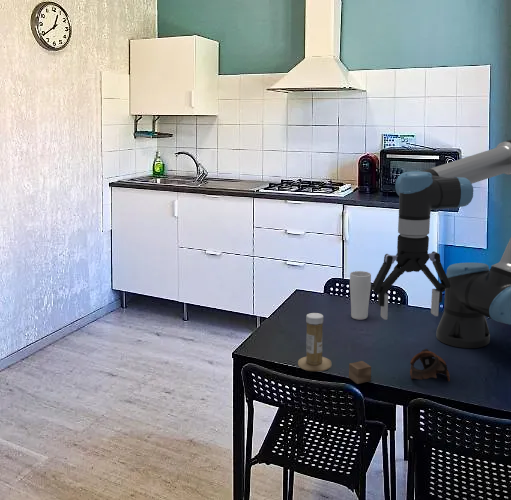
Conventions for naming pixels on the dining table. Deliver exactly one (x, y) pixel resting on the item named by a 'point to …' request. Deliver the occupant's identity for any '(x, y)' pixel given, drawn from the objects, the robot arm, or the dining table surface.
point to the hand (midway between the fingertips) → (409, 316)
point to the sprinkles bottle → (314, 338)
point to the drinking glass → (360, 294)
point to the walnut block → (359, 372)
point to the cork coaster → (321, 367)
